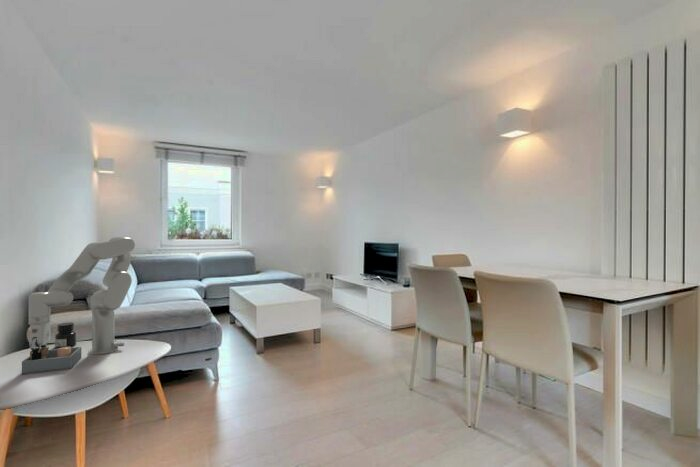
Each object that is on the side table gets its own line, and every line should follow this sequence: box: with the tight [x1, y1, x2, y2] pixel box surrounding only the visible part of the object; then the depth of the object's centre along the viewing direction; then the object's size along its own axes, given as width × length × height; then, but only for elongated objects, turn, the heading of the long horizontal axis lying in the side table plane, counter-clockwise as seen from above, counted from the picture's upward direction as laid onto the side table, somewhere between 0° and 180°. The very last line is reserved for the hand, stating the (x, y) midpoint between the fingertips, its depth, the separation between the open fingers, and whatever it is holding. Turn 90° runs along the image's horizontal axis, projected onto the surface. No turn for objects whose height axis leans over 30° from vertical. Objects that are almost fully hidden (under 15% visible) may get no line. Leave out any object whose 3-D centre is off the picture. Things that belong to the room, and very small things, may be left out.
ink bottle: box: [54, 321, 77, 349], centre depth 190 cm, size 10×9×12 cm
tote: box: [21, 346, 82, 375], centre depth 162 cm, size 17×14×6 cm
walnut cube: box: [29, 346, 50, 360], centre depth 160 cm, size 5×5×5 cm
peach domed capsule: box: [56, 346, 72, 357], centre depth 164 cm, size 5×5×7 cm
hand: (39, 359), depth 160 cm, fingers closed on walnut cube, 5 cm apart
